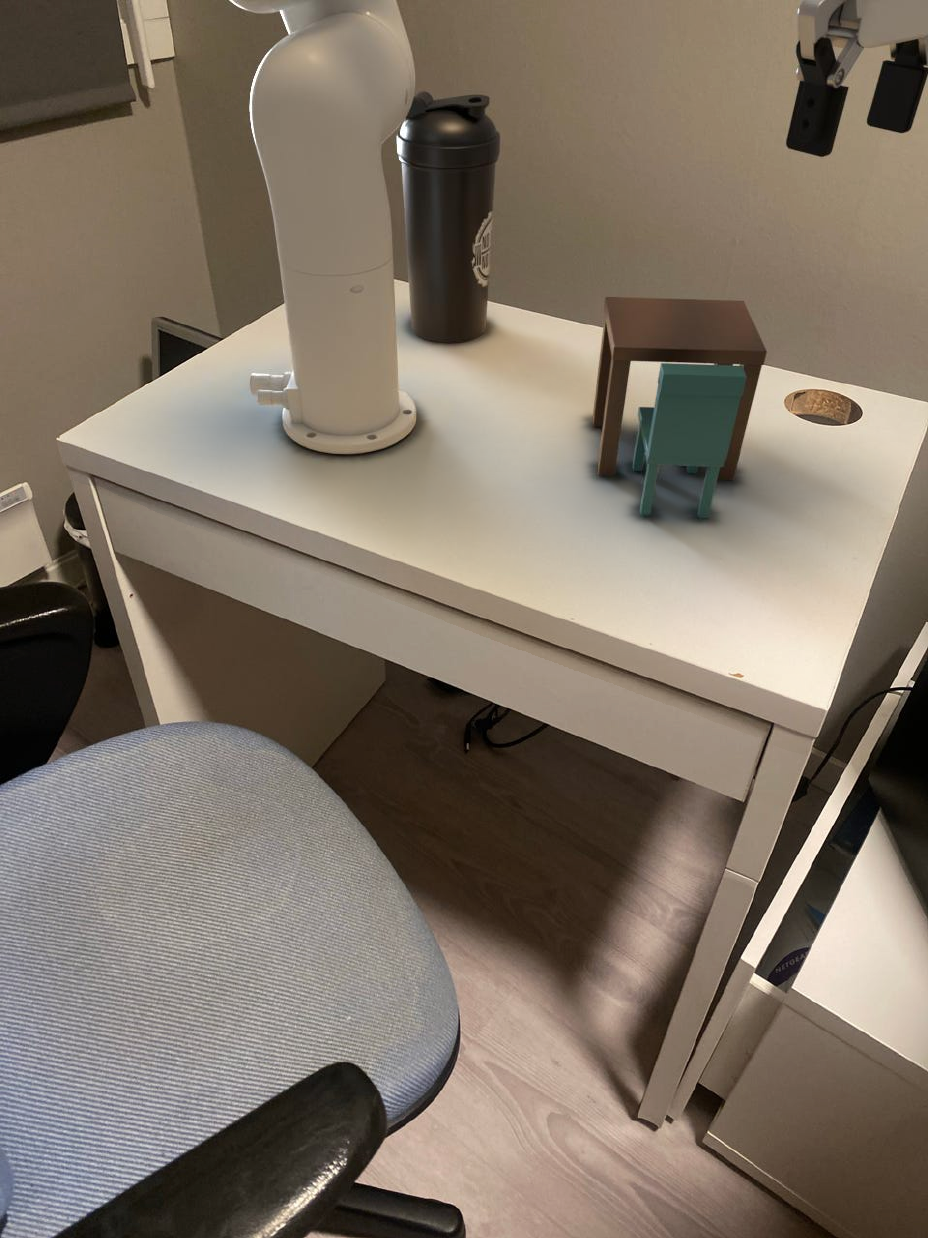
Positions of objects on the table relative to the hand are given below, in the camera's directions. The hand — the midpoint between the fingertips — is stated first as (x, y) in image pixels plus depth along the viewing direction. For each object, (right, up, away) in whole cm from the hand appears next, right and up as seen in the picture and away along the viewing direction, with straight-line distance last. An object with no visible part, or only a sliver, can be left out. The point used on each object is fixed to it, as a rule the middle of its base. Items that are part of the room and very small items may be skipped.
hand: (848, 139), depth 62 cm
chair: (-9, -22, +15) cm, 28 cm away
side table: (-8, -17, +21) cm, 28 cm away
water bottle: (-28, 0, +40) cm, 49 cm away
